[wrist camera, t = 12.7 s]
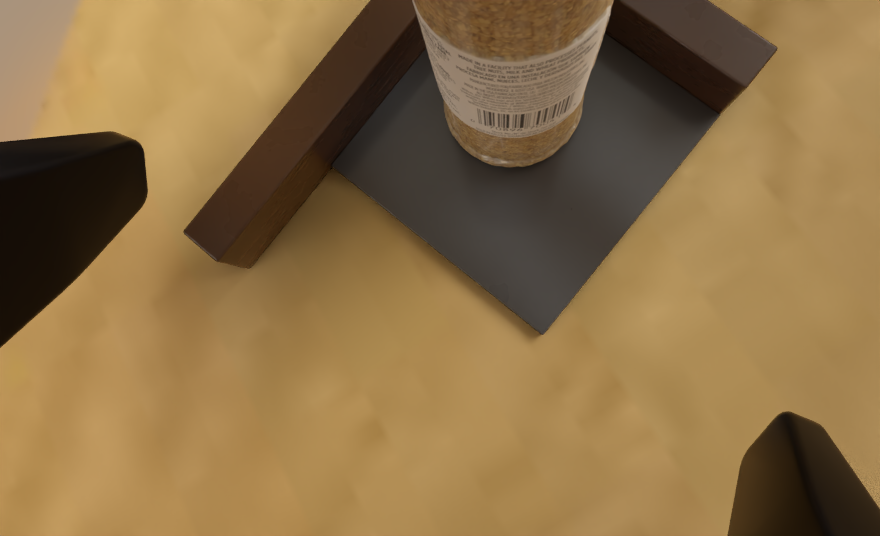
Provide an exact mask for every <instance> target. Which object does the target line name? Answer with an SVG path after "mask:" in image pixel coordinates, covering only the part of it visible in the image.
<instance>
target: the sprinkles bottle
mask: <svg viewBox="0 0 880 536" xmlns="http://www.w3.org/2000/svg"><path fill="white" fill-rule="evenodd" d="M412 1H413V5H414V8H415V11H416V14H417V17H418V21H419V24H420V27H421V30H422V34H423V37H424V41H425V44H426V48H427V51H428V55H429V58H430V62H431V65H432V68H433V72H434V75H435V78H436V81H437V84H438V87H439V90H440V92H441V95H442V97H443V99H444V112H445V118H446V120H447V123H448V127H449V129H450V131H451V133H452V135H453V136H454V137H455V139H456V140H457V141H458V143H459V144H460V145H461V146H462V147H463V148H464V149H465V150H466V151H467V152H468V153H469V154H471V155H472V156H474V157H476V158H478V159H479V160H481V161H483V162H485V163H488V164H490V165H494V166H503V167H517V166H520V167H525V166H529V165H533V164H535V163H537V162H540V161H543V160H545V159H546V158H548V157H550V156H552V155H553V154H554V153H555V152H556V151H558V150H559V149H560V148H561V147H562V146H563V145H564V144H565V143H567V142H568V140H569V139H570V137H571V135H572V134H573V132H574V131H575V129H576V127H577V125H578V123H579V121H580V118H581V115H582V106H583V100H584V92H585V89H586V85H587V82H588V79H589V76H590V73H591V70H592V68H593V66H594V64H595V61H596V58H597V55H598V52H599V49H600V46H601V43H602V40H603V36H604V33H605V30H606V27H607V24H608V21H609V17H610V12H611V8H612V5H613V1H614V0H412Z"/></svg>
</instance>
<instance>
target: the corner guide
mask: <svg viewBox="0 0 880 536" xmlns="http://www.w3.org/2000/svg"><path fill="white" fill-rule="evenodd" d="M776 51H777V47H776V46H774V45H773V44H771V43H770V42H769V41H767V40H766V39H764V38H763V37H761V36H760V35H758V34H757V33H755V32H754V31H752V30H751V29H749V28H748V27H746V26H745V25H743V24H742V23H740V22H739V21H738V20H736V19H735V18H733V17H732V16H730V15H729V14H727V13H726V12H724V11H723V10H721V9H720V8H718V7H717V6H715V5H714V4H712V3H711V2H709V1H708V0H614V1H613V5H612V8H611V12H610V17H609V21H608V24H607V27H606V30H605V33H604V36H603V40H602V43H601V46H600V49H599V52H598V55H597V58H596V61H595V64H594V66H593V68H592V70H591V73H590V76H589V79H588V82H587V85H586V89H585V92H584V100H583V106H582V115H581V118H580V121H579V123H578V125H577V127H576V129H575V131H574V132H573V134H572V135H571V137H570V139H569V140H568V142H567V143H565V144H564V145H563V146H562V147H561V148H560V149H559V150H558V151H556V152H555V153H554V154H553V155H552V156H550V157H548V158H546V159H545V160H543V161H540V162H537V163H535V164H533V165H529V166H525V167H520V166H517V167H503V166H494V165H490V164H488V163H485V162H483V161H481V160H479V159H478V158H476V157H474V156H472V155H471V154H469V153H468V152H467V151H466V150H465V149H464V148H463V147H462V146H461V145H460V144H459V143H458V141H457V140H456V139H455V137H454V136H453V135H452V133H451V131H450V129H449V127H448V123H447V120H446V118H445V112H444V99H443V97H442V95H441V92H440V90H439V87H438V84H437V81H436V78H435V75H434V72H433V68H432V65H431V62H430V58H429V55H428V51H427V48H426V44H425V41H424V37H423V34H422V30H421V27H420V24H419V21H418V17H417V14H416V11H415V8H414V5H413V1H412V0H370V2H369V3H368V4H367V5H366V6H365V8H364V9H363V10H362V11H361V13H360V14H359V15H358V16H357V18H356V19H355V20H354V21H353V23H352V24H351V25H350V26H349V27H348V29H347V30H346V31H345V32H344V34H343V35H342V36H341V37H340V39H339V40H338V41H337V42H336V44H335V45H334V46H333V47H332V48H331V50H330V51H329V52H328V53H327V55H326V56H325V57H324V58H323V60H322V61H321V62H320V63H319V64H318V66H317V67H316V68H315V69H314V71H313V72H312V73H311V74H310V76H309V77H308V78H307V79H306V81H305V82H304V83H303V84H302V85H301V87H300V88H299V89H298V90H297V92H296V93H295V94H294V95H293V97H292V98H291V99H290V100H289V102H288V103H287V104H286V105H285V106H284V108H283V109H282V110H281V111H280V113H279V114H278V115H277V116H276V118H275V119H274V120H273V121H272V123H271V124H270V125H269V126H268V127H267V129H266V130H265V131H264V132H263V134H262V135H261V136H260V137H259V139H258V140H257V141H256V142H255V144H254V145H253V146H252V147H251V148H250V150H249V151H248V152H247V153H246V155H245V156H244V157H243V158H242V160H241V161H240V162H239V163H238V164H237V166H236V167H235V168H234V169H233V171H232V172H231V173H230V174H229V176H228V177H227V178H226V179H225V181H224V182H223V183H222V184H221V185H220V187H219V188H218V189H217V190H216V192H215V193H214V194H213V195H212V197H211V198H210V199H209V200H208V202H207V203H206V204H205V205H204V206H203V208H202V209H201V210H200V211H199V213H198V214H197V215H196V216H195V218H194V219H193V220H192V221H191V223H190V224H189V225H188V226H187V227H186V229H185V230H184V234H185V235H186V236H187V237H188V238H189V239H191V240H192V241H193V242H194V243H195V244H196V245H198V246H199V247H200V248H201V249H202V250H203V251H205V252H206V253H207V254H208V255H209V256H210V257H212V258H213V259H214V260H215V261H217V262H221V263H226V264H230V265H234V266H239V267H243V268H247V269H249V268H251V266H252V265H253V264H254V263H255V261H256V260H257V259H258V258H259V257H260V255H261V254H262V253H263V252H264V250H265V249H266V248H267V247H268V245H269V244H270V243H271V242H272V240H273V239H274V238H275V237H276V236H277V234H278V233H279V232H280V231H281V229H282V228H283V227H284V226H285V224H286V223H287V222H288V221H289V219H290V218H291V217H292V216H293V215H294V213H295V212H296V211H297V210H298V208H299V207H300V206H301V205H302V203H303V202H304V201H305V200H306V198H307V197H308V196H309V195H310V193H311V192H312V191H313V190H314V189H315V187H316V186H317V185H318V184H319V182H320V181H321V180H322V179H323V177H324V176H325V175H326V174H327V172H328V171H329V170H330V169H331V168H332V167H333V168H334V169H336V170H337V171H338V172H339V173H341V174H342V175H343V176H344V177H346V178H347V179H348V180H349V181H351V182H352V183H353V184H354V185H356V186H357V187H358V188H359V189H361V190H362V191H363V192H364V193H366V194H367V195H368V196H369V197H371V198H372V199H373V200H374V201H376V202H377V203H378V204H379V205H381V206H382V207H383V208H384V209H386V210H387V211H388V212H389V213H391V214H392V215H393V216H394V217H396V218H397V219H398V220H399V221H401V222H402V223H403V224H404V225H406V226H407V227H408V228H409V229H411V230H412V231H413V232H414V233H416V234H417V235H418V236H419V237H421V238H422V239H423V240H424V241H426V242H427V243H428V244H429V245H431V246H432V247H433V248H434V249H435V250H437V251H438V252H439V253H440V254H442V255H443V256H444V257H445V258H447V259H448V260H449V261H450V262H452V263H453V264H454V265H455V266H457V267H458V268H459V269H460V270H462V271H463V272H464V273H465V274H467V275H468V276H469V277H470V278H472V279H473V280H474V281H475V282H477V283H478V284H479V285H480V286H482V287H483V288H484V289H485V290H487V291H488V292H489V293H490V294H492V295H493V296H494V297H495V298H497V299H498V300H499V301H500V302H502V303H503V304H504V305H505V306H507V307H508V308H509V309H510V310H512V311H513V312H514V313H515V314H517V315H518V316H519V317H520V318H522V319H523V320H524V321H525V322H527V323H528V324H529V325H530V326H532V327H533V328H534V329H535V330H537V331H538V332H539V333H540V334H542V335H543V334H544V333H545V332H546V331H547V329H548V328H549V327H550V326H551V325H552V323H553V322H554V321H555V320H556V318H557V317H558V316H559V315H560V313H561V312H562V311H563V310H564V308H565V307H566V306H567V305H568V303H569V302H570V301H571V300H572V298H573V297H574V296H575V295H576V293H577V292H578V291H579V290H580V288H581V287H582V286H583V285H584V284H585V282H586V281H587V280H588V279H589V277H590V276H591V275H592V274H593V272H594V271H595V270H596V269H597V267H598V266H599V265H600V264H601V262H602V261H603V260H604V259H605V257H606V256H607V255H608V254H609V252H610V251H611V250H612V249H613V247H614V246H615V245H616V244H617V243H618V241H619V240H620V239H621V238H622V236H623V235H624V234H625V233H626V231H627V230H628V229H629V228H630V226H631V225H632V224H633V223H634V221H635V220H636V219H637V218H638V216H639V215H640V214H641V213H642V211H643V210H644V209H645V208H646V206H647V205H648V204H649V203H650V202H651V200H652V199H653V198H654V197H655V195H656V194H657V193H658V192H659V190H660V189H661V188H662V187H663V185H664V184H665V183H666V182H667V180H668V179H669V178H670V177H671V175H672V174H673V173H674V172H675V170H676V169H677V168H678V167H679V165H680V164H681V163H682V162H683V161H684V159H685V158H686V157H687V156H688V154H689V153H690V152H691V151H692V149H693V148H694V147H695V146H696V144H697V143H698V142H699V141H700V139H701V138H702V137H703V136H704V134H705V133H706V132H707V131H708V129H709V128H710V127H711V126H712V124H713V123H714V122H715V121H716V120H717V118H718V117H719V116H720V114H721V113H722V112H723V111H724V110H725V109H726V108H727V107H728V106H729V105H730V104H731V103H732V102H733V101H734V100H735V99H736V98H737V97H738V96H739V95H740V94H741V93H742V92H743V91H744V90H745V89H746V88H747V87H748V86H749V84H750V83H751V82H752V81H753V79H754V78H755V77H756V76H757V74H758V73H759V72H760V71H761V69H762V68H763V67H764V66H765V64H766V63H767V62H768V61H769V60H770V58H771V57H772V56H773V55H774V53H775V52H776Z"/></svg>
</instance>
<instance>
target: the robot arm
mask: <svg viewBox="0 0 880 536" xmlns="http://www.w3.org/2000/svg"><path fill="white" fill-rule="evenodd" d="M147 193H148V188H147V178H146V167H145V157H144V150H143V148H142V146H141V144H140V143H139V142H137V141H136V140H134V139H131V138H129V137H127V136H124V135H122V134H119V133H116V132H111V131H110V132H98V133H88V134H78V135H67V136H57V137H47V138H37V139H27V140H17V141H7V142H0V348H1V347H2V346H3V345H4V344H5V343H6V342H7V341H8V340H10V339H11V338H12V337H13V336H14V335H15V334H16V333H17V332H18V331H20V330H21V329H22V328H23V327H24V326H25V325H26V324H27V323H28V322H30V321H31V320H32V319H33V318H34V317H35V316H36V315H37V314H39V313H40V312H41V311H42V310H43V309H44V308H45V307H46V306H47V305H49V304H50V303H51V302H52V301H53V300H54V299H55V298H56V297H58V296H59V295H60V294H61V293H62V292H63V291H64V290H65V289H66V288H67V287H68V286H69V285H71V284H72V283H73V282H74V281H75V280H76V279H77V278H78V277H79V276H80V275H81V273H82V272H83V271H84V270H85V269H86V268H87V267H88V266H89V265H90V264H91V263H92V262H93V261H94V259H95V258H96V257H97V256H98V255H99V254H100V253H101V252H102V251H103V250H104V248H105V247H106V246H107V245H108V244H109V243H110V242H111V241H112V240H113V239H114V237H115V236H116V235H117V234H118V233H119V232H120V231H121V230H122V229H123V227H124V226H125V225H126V224H127V223H128V222H129V221H130V220H131V219H132V218H133V216H134V215H135V214H136V213H137V212H138V211H139V210H140V209H141V207H142V206H143V204H144V203H145V200H146V198H147ZM728 536H880V509H879V507H878V506H877V504H876V503H875V501H874V500H873V498H872V497H871V496H870V494H869V493H868V491H867V490H866V488H865V487H864V485H863V484H862V483H861V481H860V480H859V478H858V477H857V475H856V474H855V472H854V471H853V470H852V468H851V467H850V465H849V464H848V462H847V461H846V459H845V458H844V456H843V455H842V454H841V452H840V451H839V449H838V448H837V446H836V445H835V443H834V442H833V441H832V439H831V438H830V436H829V435H828V433H827V432H826V430H825V429H824V428H823V427H822V426H821V425H820V424H818V423H816V422H814V421H812V420H809V419H807V418H804V417H802V416H800V415H797V414H795V413H792V412H782V413H780V414H779V415H777V416H776V417H775V418H774V420H773V421H772V422H771V423H770V424H769V425H768V427H767V428H766V429H765V430H764V431H763V432H762V434H761V435H760V436H759V437H758V438H757V439H756V440H755V442H754V443H753V444H752V445H751V446H750V447H749V449H748V450H747V452H746V453H745V455H744V457H743V459H742V462H741V465H740V470H739V476H738V481H737V487H736V492H735V498H734V503H733V509H732V514H731V520H730V525H729V531H728Z"/></svg>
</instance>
